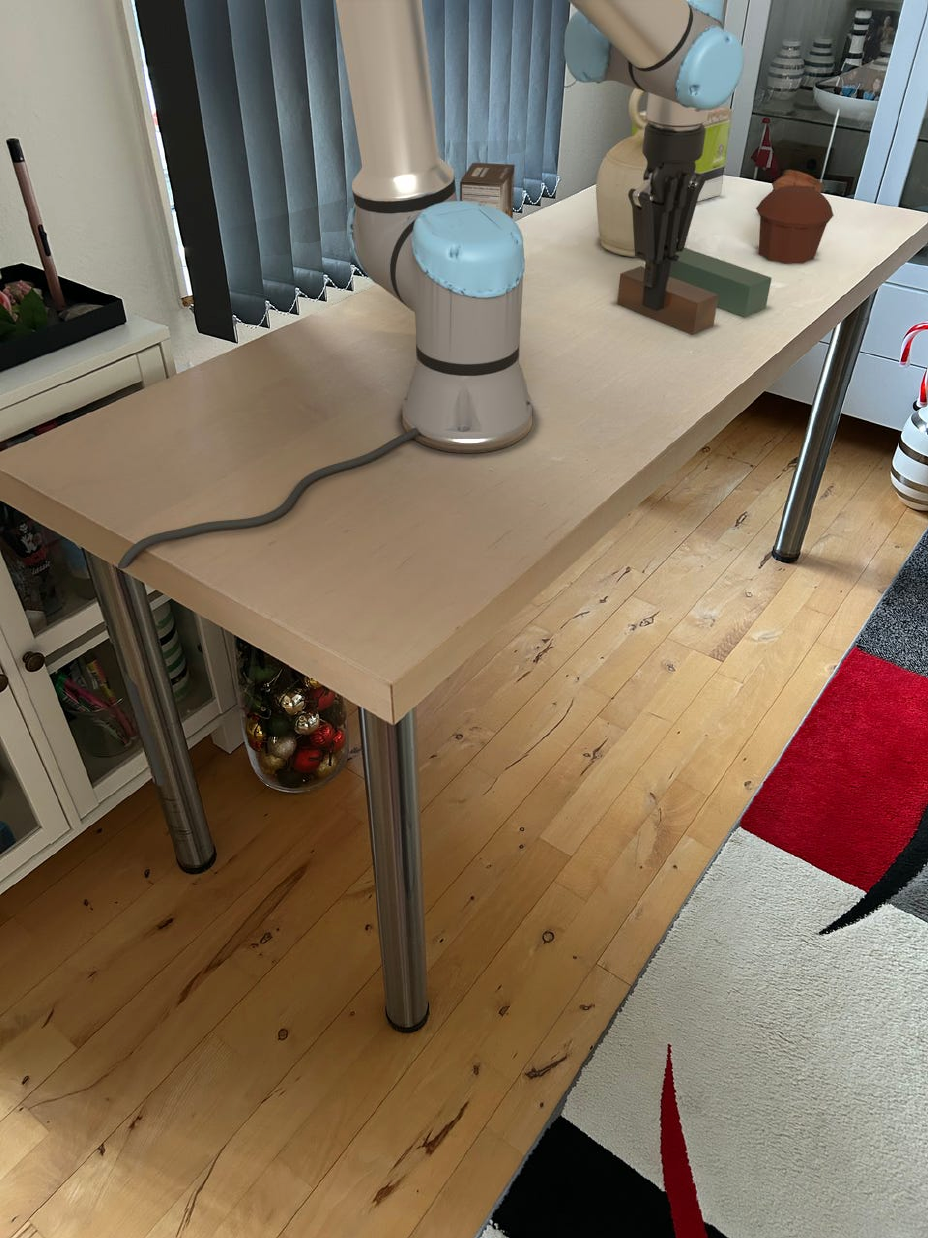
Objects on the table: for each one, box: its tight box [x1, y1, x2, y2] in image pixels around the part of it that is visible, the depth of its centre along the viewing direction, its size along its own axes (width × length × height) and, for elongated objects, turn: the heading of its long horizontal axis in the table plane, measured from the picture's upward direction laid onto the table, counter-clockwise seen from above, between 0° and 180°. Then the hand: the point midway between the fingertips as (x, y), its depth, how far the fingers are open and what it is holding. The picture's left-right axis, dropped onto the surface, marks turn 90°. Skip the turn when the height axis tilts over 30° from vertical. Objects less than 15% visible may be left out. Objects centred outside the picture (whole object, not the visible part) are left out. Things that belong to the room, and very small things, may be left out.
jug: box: [595, 88, 678, 258], centre depth 156 cm, size 15×16×25 cm
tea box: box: [631, 105, 733, 203], centre depth 178 cm, size 15×10×15 cm
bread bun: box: [771, 169, 825, 194], centre depth 173 cm, size 12×10×8 cm
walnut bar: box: [616, 265, 719, 336], centre depth 141 cm, size 4×14×4 cm, turn 41°
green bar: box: [669, 247, 773, 318], centre depth 146 cm, size 5×16×4 cm, turn 41°
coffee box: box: [459, 162, 516, 220], centre depth 146 cm, size 9×6×16 cm
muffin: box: [755, 185, 834, 265], centre depth 158 cm, size 12×11×10 cm
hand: (652, 306), depth 140 cm, fingers closed
